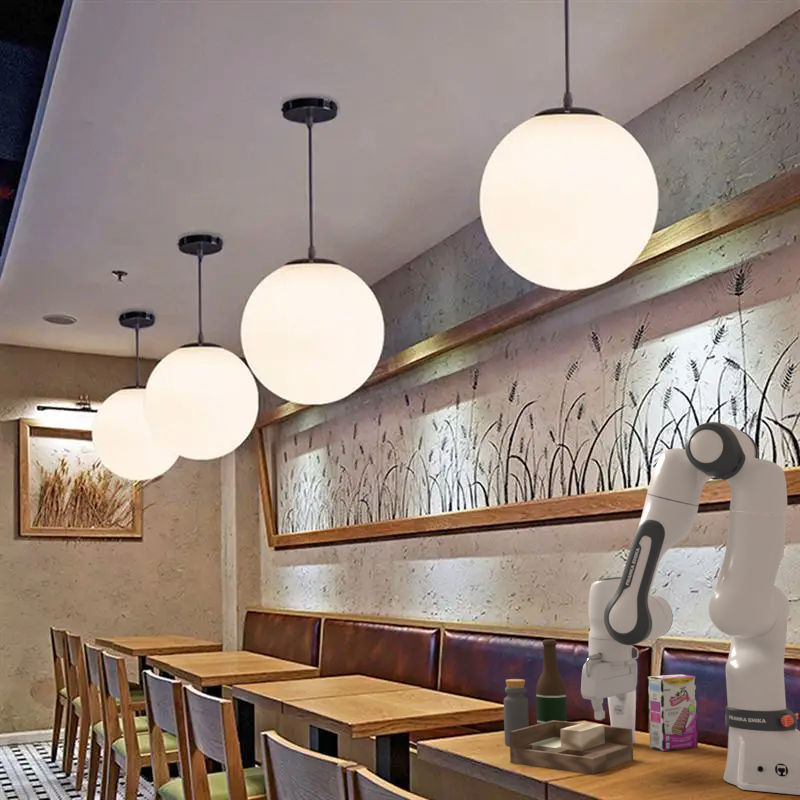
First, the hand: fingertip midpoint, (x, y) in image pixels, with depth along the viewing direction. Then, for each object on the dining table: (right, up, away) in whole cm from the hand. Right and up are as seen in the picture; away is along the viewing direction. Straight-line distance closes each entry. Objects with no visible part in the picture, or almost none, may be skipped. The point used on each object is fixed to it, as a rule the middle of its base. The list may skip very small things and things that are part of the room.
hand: (609, 716), depth 214 cm
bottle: (-18, -14, +21) cm, 31 cm away
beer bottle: (-8, -15, +26) cm, 31 cm away
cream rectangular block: (-5, -7, +3) cm, 9 cm away
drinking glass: (+8, -14, +21) cm, 26 cm away
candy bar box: (+19, -13, +15) cm, 27 cm away
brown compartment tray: (-8, -10, +2) cm, 13 cm away
